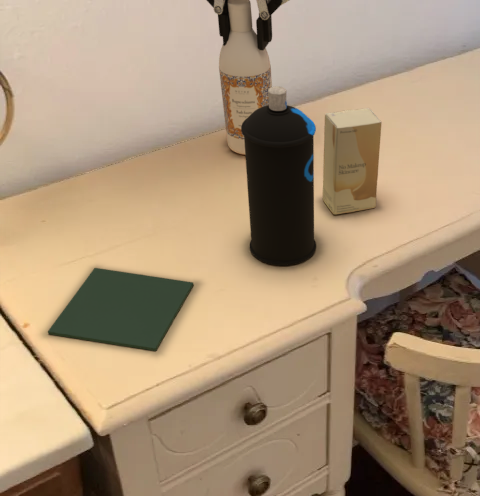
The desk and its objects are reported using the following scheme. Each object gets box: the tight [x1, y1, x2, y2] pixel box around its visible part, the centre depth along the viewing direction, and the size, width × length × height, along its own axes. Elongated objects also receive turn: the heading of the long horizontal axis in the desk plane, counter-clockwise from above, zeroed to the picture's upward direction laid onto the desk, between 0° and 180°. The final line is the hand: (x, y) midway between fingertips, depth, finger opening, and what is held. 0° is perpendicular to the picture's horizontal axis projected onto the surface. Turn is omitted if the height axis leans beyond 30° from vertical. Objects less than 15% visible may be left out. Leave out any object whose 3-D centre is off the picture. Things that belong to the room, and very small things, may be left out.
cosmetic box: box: [322, 107, 382, 215], centre depth 107 cm, size 6×4×12 cm
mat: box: [47, 267, 195, 352], centre depth 93 cm, size 12×12×1 cm
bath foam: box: [218, 0, 273, 155], centre depth 114 cm, size 7×7×20 cm
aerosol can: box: [241, 85, 317, 267], centre depth 96 cm, size 8×8×20 cm
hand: (246, 43), depth 111 cm, fingers closed on bath foam, 4 cm apart
